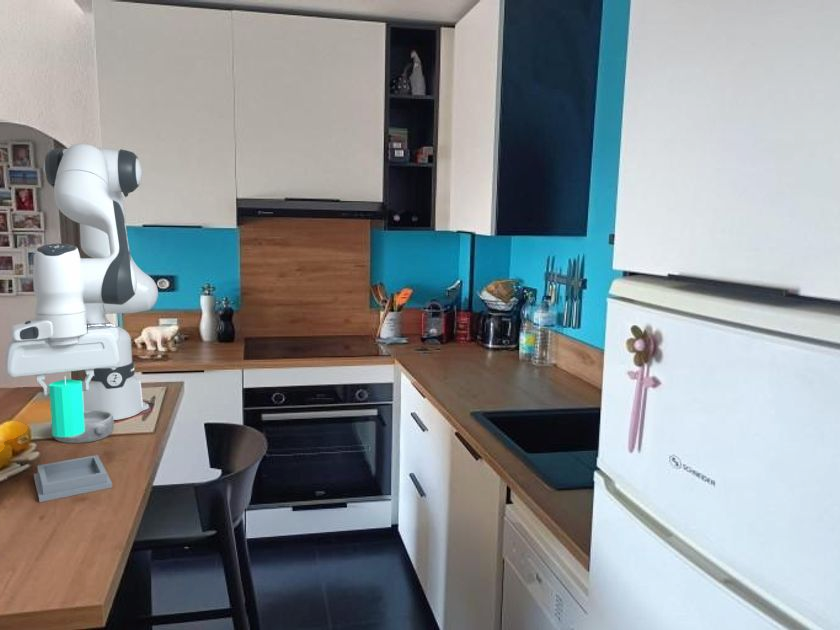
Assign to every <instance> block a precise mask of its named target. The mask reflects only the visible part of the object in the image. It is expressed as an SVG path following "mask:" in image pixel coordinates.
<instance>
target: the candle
mask: <svg viewBox="0 0 840 630" xmlns="http://www.w3.org/2000/svg"><path fill="white" fill-rule="evenodd" d="M81 381H82V380H75V379H71V378H68V379H67V377H64V379H60V380H56V381H53V382H51V383H50V384H48V385H49V391H50V395H49V402H50V403H49V404H50V415H51V424H52V427H51V431H52V432H51V434H52V436H53V437H54V436H55V437H71V436H76V435H79V434H82V433H83V432H84V431H85V425H84V410H83V394H82V382H81Z"/></svg>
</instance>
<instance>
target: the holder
mask: <svg viewBox="0 0 840 630" xmlns="http://www.w3.org/2000/svg"><path fill="white" fill-rule="evenodd" d="M33 479H34V480H33V481H34V484H35V488H36V493H37V496H38V502H39V503H43V502H47V501H52V500H57V499H63V498H68V497H73V496H76V495H82V494H86V493H91V492H97V491H101V490H106V489H107V490H108V489H111V488H113V482H112V480H111V478H110V476H109V474H108V472H107V469H106V468H105V465H104V464H103V462H102V460H101V459H100V457H99V455H98V454H96V455H89V456H85V457H79V458H73V459H67V460H62V461H61V460H60V461H56V462H51V463H44V464H38V465H37V473H33Z"/></svg>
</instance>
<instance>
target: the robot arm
mask: <svg viewBox="0 0 840 630" xmlns="http://www.w3.org/2000/svg"><path fill="white" fill-rule="evenodd" d="M44 157H45V158H44V162H43V173H44V176H45V177H46V181H47V183H48V185H50V186H51V187H52V188H53V196H54V203H55V205H56V207H57V208H58V210H59V211H60V213H62V214H63V215H64V216H65V217H66V218H68V219H69V220H72V221H73V222H75V223H78V224H79V233H80V234H79V235H80V248H81V250H82V251H83V252H84V254H85V255H87V256H88V257H89V258H82V257H81V255H80V254H81V253H80V252H79V249H78V247H77V246H76V245H73V244H69V243H50V244H45V245H41V246H39V247H38V248H36V249H35V252H34V256H33V269H32V271H33V272H32V274H33V275H32V279H33V281H32V282H33V283H32V284H33V292H34V293H33V294H34V295H35V297H36V301H37V302H36V307H35V317H34V318H32V319H31V318H30V319H28V320H25V321H22V322H19V323H17V324H14V325H12V326H11V327H10V336H11V339H10V340H9V341H8V343H7V346H6V353H5V373H6V375H7V376H9V377H10V378H12V379H15V378H20V377H21V378H22V377H31V376H35V378H36V381H37V382H38V383H39V384H40V386H41V387H42V388H43V396H46V397H47V396H50V391H49V385H50V384H46V382H45V381H44V380H45V379H46V375H50V374H59V373H67V372H68V373H69V372H77V371H84V373H85V378H84V379H83V380H80V381H81V382H82V394H83V410H84V411H91V410H93V409H96V410H102V411H107V412H110V413H111V414H112V415H113V419H114V421H116V420H117V421H118V420H123V419H127V418H131V417H134V416H136V415H138V414H140V413H141V412H144V411H145V410H148V409H149V408H150V405H149V404H148V402H147V403H146V402H145V401H144V400H143V392H142V391H143V390H142V382H141V380H139V379H138V378H137V377H136V376H135V372H136V371H135V369H136V368H135V362H134V360H133V352H132V338H131V336H130V334H129V332H128V331H127V330H126V329H124V328H122V327H120V326H118V325H116V324H113V323H111V321H109V320H108V318H107V316H106V315H111V314H135V313H136V314H137V313H141V312H146V311H151V309H153V307H154V306H155V304H156V303H157V301H158V297H159V290H158V285H157V283H156V282H155V280H154V279H153V278H152V277H151V276H150V275H149V274H147V273H146V272H144V271H143V270H142V269H141V268H140V267H139V266H138V264H136V262H135V261H134V259H133V257H132V255H131V251H130V246H129V239H128V237H129V236H128V232H127V221H126V210H125V209H126V207H125V202H124V197H125V198H128V196H129V194H130V193H133V192H134V191H136V190H137V188H139V186H140V183H141V180H142V177H143V167H142V164H141V162H140V160H139V157H138V155H137V154H135V153H134V152H133V151H130V150H126V149H122V148H121V149H120V150H117V149H113V148H106V147H96V146H94V145H91V144H89V143H76V144H72V145H70V146H68V148H65V147H59V148H57V147H56V148H53V149H51V150H50V151H48V152H47V153H46V154H45V156H44ZM123 196H124V197H123Z"/></svg>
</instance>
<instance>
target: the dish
mask: <svg viewBox="0 0 840 630" xmlns="http://www.w3.org/2000/svg"><path fill="white" fill-rule="evenodd" d="M114 421H115V420H114V419H113V415H112V414H111V413H110V412H107V411H102V410H96V409H93V410H91V411H84V425H85V431H84V432H83V433H82V434H79V435H76V436H71V437H55V436H53V438H54V439H55V441H56V440H57V441H58V442H60V443H66V444H67V443H68V444H81V443H91V442H96V441H99V440H102V439H105V438H107V437H108V436H110V435H111V434H112V433H113V430H114V426H115V422H114ZM51 428H52V423H51Z"/></svg>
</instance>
